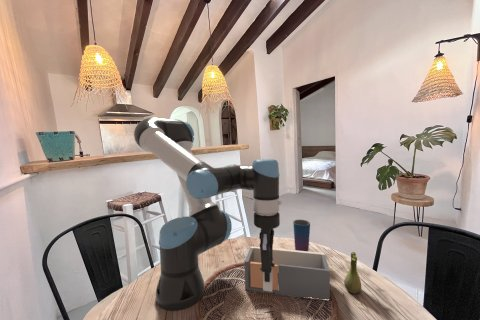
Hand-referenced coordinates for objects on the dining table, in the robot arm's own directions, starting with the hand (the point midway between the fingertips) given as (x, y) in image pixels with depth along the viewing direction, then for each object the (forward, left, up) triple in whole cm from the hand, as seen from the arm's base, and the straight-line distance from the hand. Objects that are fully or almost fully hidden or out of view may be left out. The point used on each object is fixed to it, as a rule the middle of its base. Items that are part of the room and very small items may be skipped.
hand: (267, 289), depth 64 cm
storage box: (+5, +10, -4) cm, 12 cm away
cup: (+11, +29, -4) cm, 32 cm away
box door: (-2, +5, -3) cm, 6 cm away
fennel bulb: (+26, +11, -4) cm, 29 cm away
